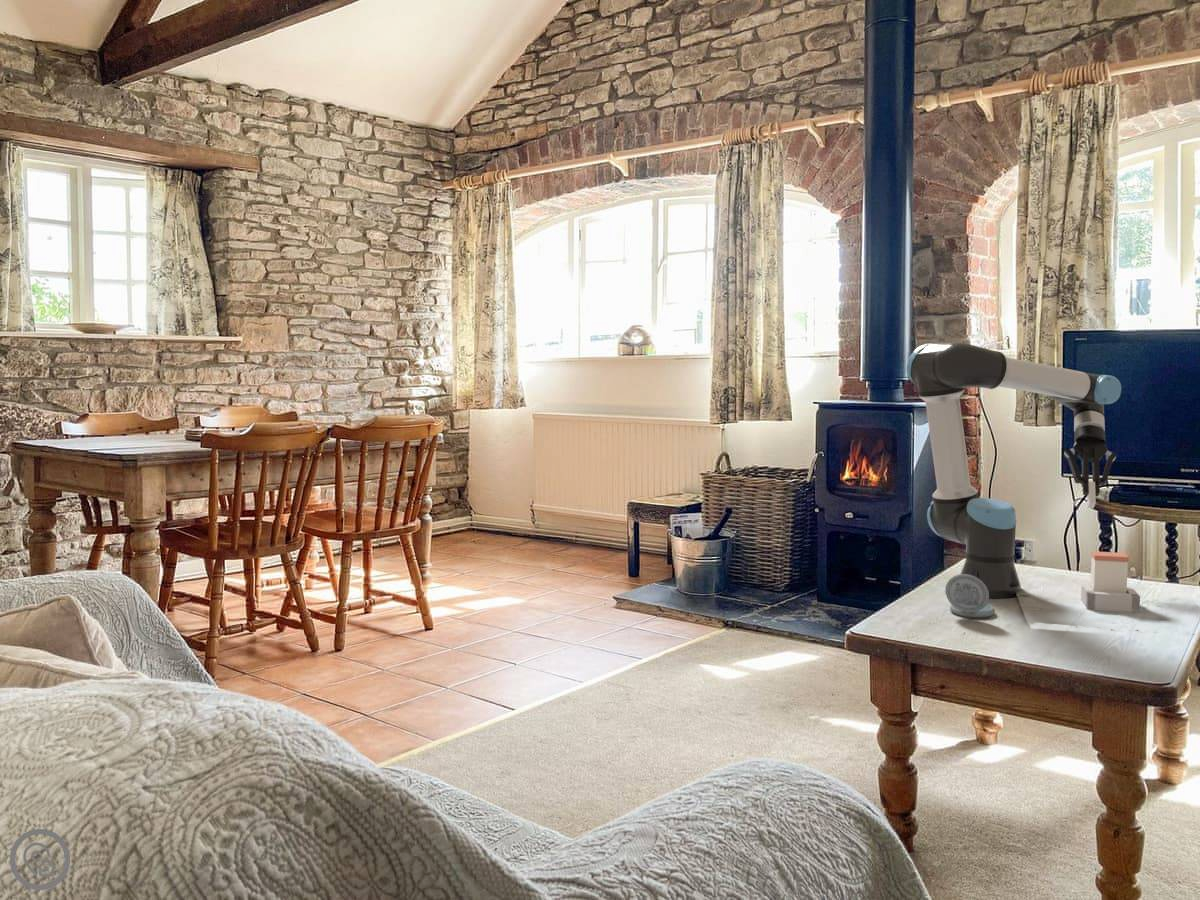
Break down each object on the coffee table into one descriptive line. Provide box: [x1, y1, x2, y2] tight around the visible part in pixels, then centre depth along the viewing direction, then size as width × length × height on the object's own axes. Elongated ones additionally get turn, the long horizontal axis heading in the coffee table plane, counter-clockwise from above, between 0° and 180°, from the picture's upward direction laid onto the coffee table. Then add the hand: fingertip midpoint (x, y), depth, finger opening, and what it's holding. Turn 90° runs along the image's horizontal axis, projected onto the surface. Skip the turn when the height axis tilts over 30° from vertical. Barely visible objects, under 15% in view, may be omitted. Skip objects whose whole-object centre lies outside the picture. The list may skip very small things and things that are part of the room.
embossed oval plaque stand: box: [944, 573, 996, 619], centre depth 234 cm, size 10×11×15 cm
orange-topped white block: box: [1089, 550, 1130, 594], centre depth 238 cm, size 5×7×12 cm
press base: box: [1080, 583, 1141, 613], centre depth 239 cm, size 20×14×5 cm
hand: (1091, 505), depth 257 cm, fingers closed
